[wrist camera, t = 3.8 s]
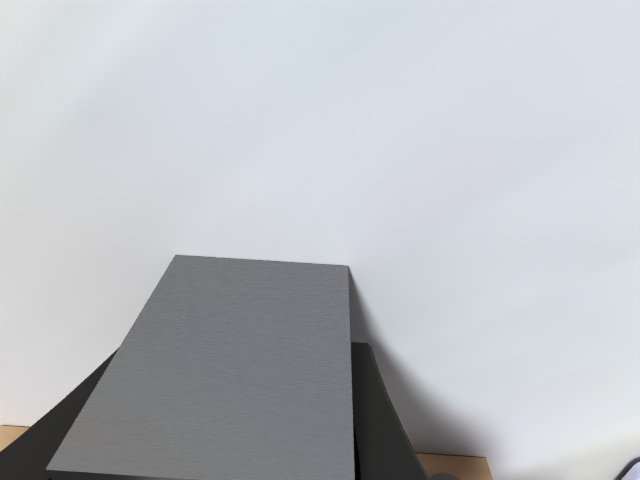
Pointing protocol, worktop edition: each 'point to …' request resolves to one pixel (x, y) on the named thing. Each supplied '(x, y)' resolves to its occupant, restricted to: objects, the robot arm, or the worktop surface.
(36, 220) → the worktop surface
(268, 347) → the grey rectangular block
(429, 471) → the plate
